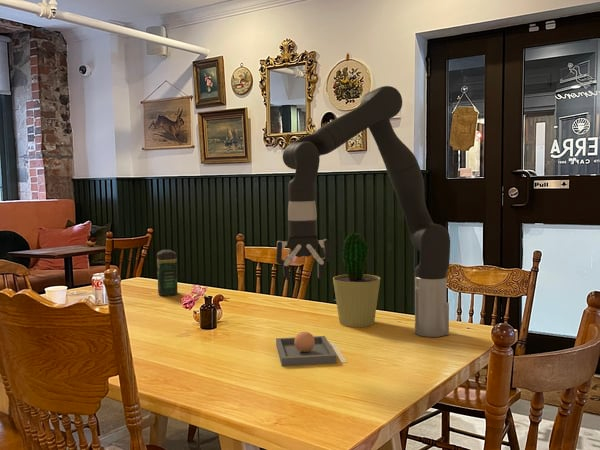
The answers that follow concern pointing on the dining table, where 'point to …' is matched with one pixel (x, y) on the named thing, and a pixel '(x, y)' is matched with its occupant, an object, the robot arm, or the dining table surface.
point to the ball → (304, 341)
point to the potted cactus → (356, 286)
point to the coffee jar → (167, 272)
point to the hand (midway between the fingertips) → (303, 278)
